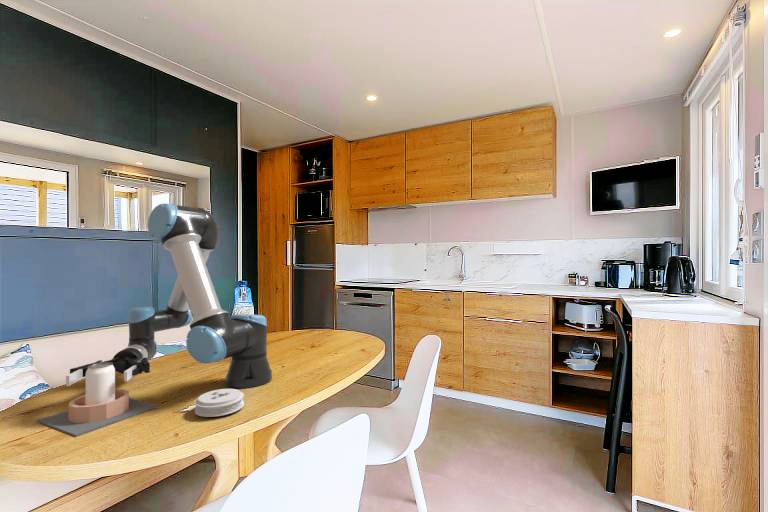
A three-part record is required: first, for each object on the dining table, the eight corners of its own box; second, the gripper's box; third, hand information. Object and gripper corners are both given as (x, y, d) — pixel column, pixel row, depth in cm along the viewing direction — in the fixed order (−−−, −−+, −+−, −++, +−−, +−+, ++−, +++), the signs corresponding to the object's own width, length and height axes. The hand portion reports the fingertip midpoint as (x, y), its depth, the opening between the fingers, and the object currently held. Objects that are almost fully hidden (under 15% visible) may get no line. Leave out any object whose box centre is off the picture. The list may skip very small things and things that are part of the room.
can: (120, 405, 105) (120, 362, 105) (96, 414, 98) (96, 369, 99) (104, 403, 107) (104, 361, 107) (79, 411, 101) (79, 367, 101)
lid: (193, 424, 96) (193, 404, 96) (196, 406, 108) (196, 389, 108) (245, 415, 101) (245, 396, 101) (243, 399, 113) (242, 382, 113)
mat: (158, 406, 107) (158, 405, 107) (76, 436, 89) (76, 435, 89) (118, 396, 116) (118, 395, 116) (36, 421, 98) (36, 420, 98)
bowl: (138, 407, 105) (138, 393, 105) (85, 426, 94) (85, 410, 94) (112, 400, 111) (112, 387, 111) (59, 417, 100) (59, 402, 100)
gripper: (172, 367, 125) (148, 388, 104) (85, 373, 119) (42, 397, 98) (172, 344, 125) (148, 361, 104) (85, 350, 119) (42, 368, 98)
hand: (97, 378), depth 101 cm, fingers open, 13 cm apart
